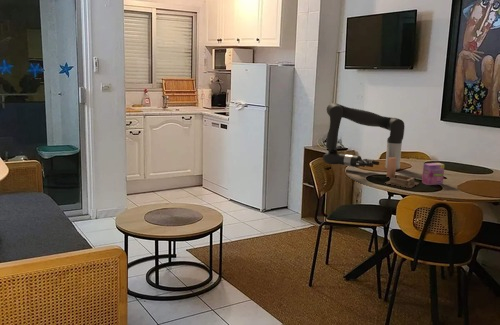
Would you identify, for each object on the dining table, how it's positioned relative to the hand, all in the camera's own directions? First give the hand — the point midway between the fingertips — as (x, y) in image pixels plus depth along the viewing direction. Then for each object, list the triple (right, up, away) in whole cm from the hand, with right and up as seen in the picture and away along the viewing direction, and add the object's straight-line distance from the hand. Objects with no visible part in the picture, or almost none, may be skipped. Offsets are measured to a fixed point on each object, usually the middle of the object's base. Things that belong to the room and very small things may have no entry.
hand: (376, 164), depth 309 cm
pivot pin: (+8, -8, -5) cm, 12 cm away
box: (+28, -11, -19) cm, 36 cm away
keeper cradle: (+10, -11, -21) cm, 26 cm away
